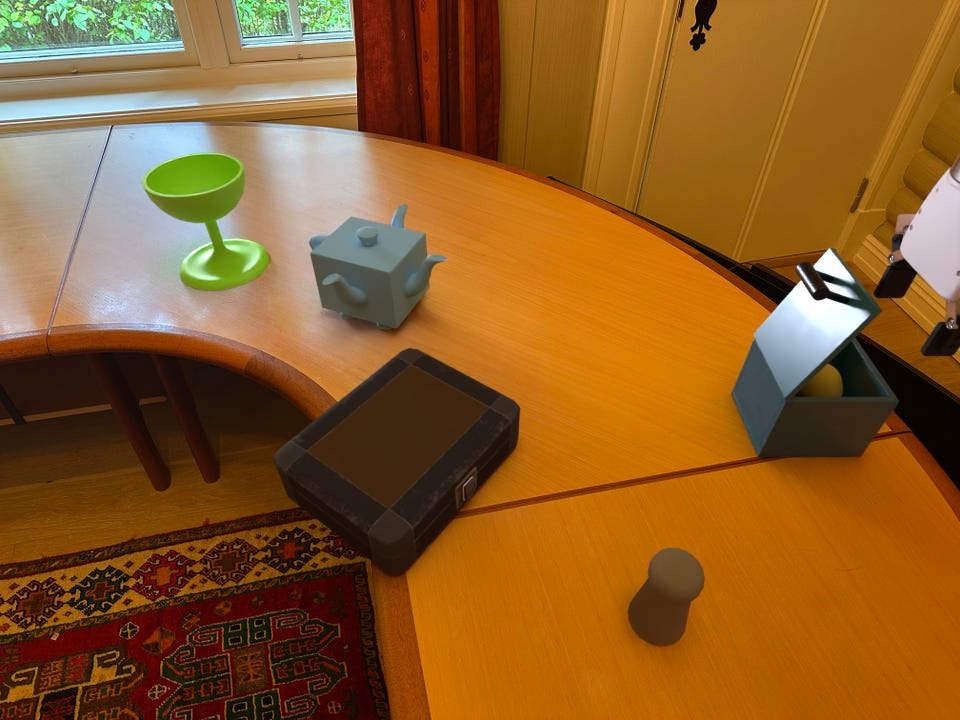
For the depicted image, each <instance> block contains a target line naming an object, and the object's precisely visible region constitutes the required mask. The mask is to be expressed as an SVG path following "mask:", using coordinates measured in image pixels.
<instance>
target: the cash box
mask: <svg viewBox="0 0 960 720" xmlns="http://www.w3.org/2000/svg"><path fill="white" fill-rule="evenodd" d="M520 418H521V407H520V405H519V404H518V403H517V402H516V401H515V399H513V398H511V397H509V396H507V395H506V394H503V393H501V392H500V391H498V390H496V389H494V388H492V387H491V386H489V385H486V384H485V383H483V382H481V381H479V380H477V379H475V378H473V377H471V376H469V375H467V374H465V373H463V372H462V371H460V370H458V369H456V368H454V367H452V366H451V365H450V364H449V365H448V364H446V363H445V362H443V361H441V360H439V359H437V358H435V357H433V356H432V355H429V354H428V353H426V352H424V351H422V350H420V349H418V348H412V347H407V348H405V349H402V350H400V351H399V352H398V353H397V354H396V355H394V356H393V357H391V358H390V360H388V361H387V362H386V363H385V364H383V365H382V366H381V367H379V368H378V369H377V370H376V371H374V372H373V373H372V374H371V375H370V376H368V377H367V378H365V380H363V381H362V382H361V383H359V384H358V385H357V386H356V387H354V388H353V389H352V390H351V391H349V393H347V394H346V395H345V396H343V397H342V398H341V399H339V400H338V401H337V402H336V403H335V404H333V405H332V406H331V407H330V408H328V409H327V410H326V411H325V412H323V413H322V414H321V415H320V416H318V417H317V418H316V419H314V420H313V421H312V422H311V423H310V424H308V425H307V426H306V427H305V428H304V429H302V430H301V431H300V432H299V433H297V434H296V435H295V436H293V437H292V438H290V440H289V441H287V442H286V443H284V444H283V446H281V447H280V448H278V450H277V452H276V453H275V455H274V456H273V462H274V464H275V467H276V470H277V472H278V475H279V478H280V481H281V483H282V486H283V489H284V492H285V494H286V496H287V498H288V499H289V500H290V501H292V502H293V503H295V504H296V505H297V506H299V507H300V508H301V509H303V510H304V511H305V512H306V513H308V514H309V515H310V516H311V517H313V518H314V519H316V520H317V521H318V522H320V523H321V524H322V525H323V526H325V527H326V528H327V529H328V530H330V531H331V532H333V533H334V534H335V535H336V536H338V537H339V538H340V539H342V540H343V541H344V542H346V543H347V544H348V545H349V546H350V547H352V548H353V549H354V550H356V551H357V552H358V553H360V554H361V555H363V557H365V558H366V559H368V560H369V561H370V562H372V564H374V565H376V566H377V567H378V568H380V569H381V570H382V571H384V572H385V573H386V574H390V575H394V576H399V575H401V574H403V573H404V572H406V571H408V570H409V568H410V567H412V565H413V564H414V563H415V561H416V560H418V559H419V557H421V555H422V554H423V553H424V552H425V550H426V549H428V547H429V546H430V545H431V544H432V543H433V542H434V540H435V539H436V538H437V537H438V536H439V535H440V534H441V533H442V531H443V530H444V529H445V528H446V527H447V526H448V525H449V524H450V522H451V521H452V520H453V519H454V518H455V517H456V516H457V515H458V513H459V512H460V511H461V510H462V509H463V508H464V507H465V505H466V504H467V503H468V502H469V501H470V500H471V499H472V497H474V496H475V495H476V493H477V492H478V491H479V490H480V489H481V488H482V487H483V485H484V484H485V483H486V482H487V481H488V480H489V478H491V476H492V475H493V474H494V473H495V472H496V471H497V469H499V467H500V466H501V465H502V464H503V463H504V462H505V461H506V459H507V458H508V457H510V455H511V454H512V452H513V451H514V450H515V449H516V448H517V446H518V441H519V434H520V420H521V419H520Z"/></svg>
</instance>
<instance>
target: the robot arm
mask: <svg viewBox="0 0 960 720" xmlns="http://www.w3.org/2000/svg"><path fill="white" fill-rule="evenodd" d="M886 261H887V263H888V264H889V265H887V266H886V268H885V269H884V270H885V271H884V272H883V274H882V276H881V278H880V279H879V282H878V283H877V285H876V287H875V288H874V290H873V293H872V295H873V296H874V297H875V298H876V299H902V298H903V299H904V297H905V296H906V294H907V292H908V291H909V289H910V287H911V286H912V284H913V282H914V280H915V278H916V276H917V275H919V276H920V277H921V278H922V279H923V280H924V281H925V282H926V283H927V284H928V285H929V286H930V287H931V288H932V289H933V290H934V291H935V292H936V293H937V295H939V296H940V297H941V298H943V299H944V300H945V321H938V322H937V324H936V325H935V326H934V328H933V329H932V331H931V333H930V334H929V335H928V337H927V339H926V340H925V342H924V343H923V345H922V346H921V347H920V353H921V354H922V356H923V357H952V356H954V355H956V353H957V352H958V351H959V349H960V151H959V152H958V154H957V156H956V157H955V160H954V161H953V163H952V165H951V166H950V167H948V169H947V170H946V171H945V172H944V174H943V175H942V176H941V177H940V179H939V180H938V181H937V182H936V184H935V185H934V186H933V188H932V189H931V191H930V192H929V193H928V195H927V196H926V198H925V200H924V201H923V202H922V204H921V205H920V207H919V209H918V210H917V212H916V213H898V216H897V218H896V224H895V230H894V234H893V235H892V237H891V252H890V253H889V254H888V256H887V259H886Z"/></svg>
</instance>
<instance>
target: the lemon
mask: <svg viewBox="0 0 960 720" xmlns="http://www.w3.org/2000/svg"><path fill="white" fill-rule="evenodd" d="M842 393H843V385H842V379H841V376H840V373H839V372H838V371H837V370H836V369H835V368H834V367H833V366H831V365H829V364H827V365H826V366H825V367H824V368H823V369H822V370H821V371H820V372H819V373H817V374H816V375H815V376H814V377H813V378H812V379H811V380H810V381H809V382H808V383H807V384H806V385H805V386H804V387H803V388H802V389H801V390H800V391H799V392H798V393H797V394H796V395H797V397H842Z"/></svg>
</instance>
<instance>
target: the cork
mask: <svg viewBox="0 0 960 720" xmlns="http://www.w3.org/2000/svg"><path fill="white" fill-rule="evenodd" d="M647 576H648V577H647V578H646V580H645V581H644V582H643V584H642V585H641V587H640V588H639V589H638V591H637V592H636V593H635V594H634V596H633V597H632V599H631V600H630V601H629V603H628V608H627V616H628V622H629V624H630V626H631V628H632V630H633V631H634V632H635V634H636V635H637V636H638V637H639V638H640V639H641V640H643V641H644V642H646V643H647V644H650V645H653V646H655V647H668V646H673V645H675V644H676V643H678V641H680V640H681V639H682V638H683V636H684V634H685V632H686V628H687V623H688V618H689V617H688V616H689V613H690V608H691V605H692V602H693V601H694V600H696V599H697V598H698V597H699V596H700V595H701V593H702V591H703V590H704V587H705V581H706V577H705V572H704V568H703V566H702V565H701V562H700V561H699V560H698V559H697V558H696V557H695V556H694V555H693V554H692V553H691V552H689V551H688V550H686V549H682V548H679V547H667V548H663V549H661V550H659V551H657V552H655V554H654V555H653V557H652V558H651V559H650V561H649V564H648V569H647Z"/></svg>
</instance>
